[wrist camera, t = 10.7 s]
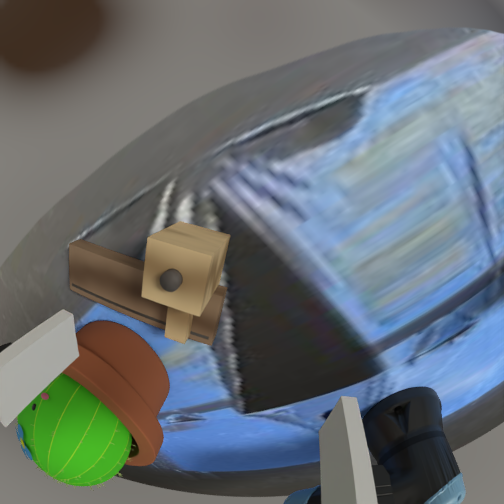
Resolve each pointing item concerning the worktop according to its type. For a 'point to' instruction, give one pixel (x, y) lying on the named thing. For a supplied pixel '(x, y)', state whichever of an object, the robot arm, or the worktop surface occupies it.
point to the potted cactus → (98, 409)
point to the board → (131, 289)
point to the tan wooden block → (183, 273)
